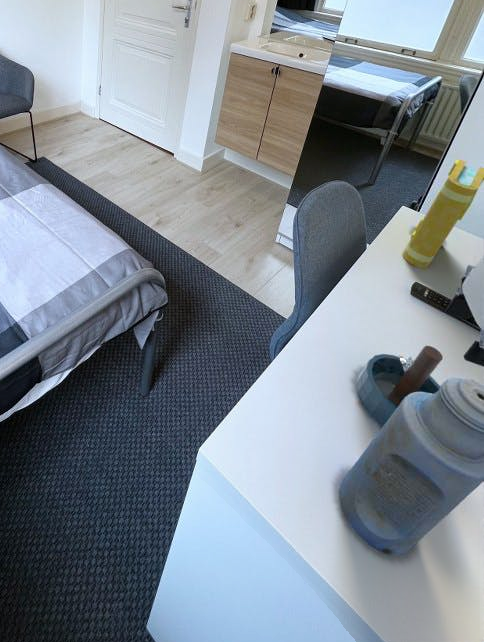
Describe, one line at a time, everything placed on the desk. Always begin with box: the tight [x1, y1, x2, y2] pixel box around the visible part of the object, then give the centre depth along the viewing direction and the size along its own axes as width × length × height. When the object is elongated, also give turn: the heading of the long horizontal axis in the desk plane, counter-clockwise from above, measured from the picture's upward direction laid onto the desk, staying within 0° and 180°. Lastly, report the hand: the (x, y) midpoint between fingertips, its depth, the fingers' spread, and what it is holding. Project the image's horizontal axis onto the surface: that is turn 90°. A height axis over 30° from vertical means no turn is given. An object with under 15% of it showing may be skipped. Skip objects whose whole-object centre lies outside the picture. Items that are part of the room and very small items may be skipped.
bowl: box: [355, 353, 441, 427], centre depth 75 cm, size 13×13×6 cm
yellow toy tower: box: [402, 158, 484, 269], centre depth 109 cm, size 17×7×25 cm, turn 133°
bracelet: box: [392, 354, 415, 388], centre depth 77 cm, size 7×3×8 cm, turn 147°
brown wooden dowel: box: [386, 345, 444, 407], centre depth 72 cm, size 3×3×15 cm
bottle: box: [338, 376, 484, 556], centre depth 54 cm, size 10×10×30 cm
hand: (465, 337), depth 69 cm, fingers open, 9 cm apart
